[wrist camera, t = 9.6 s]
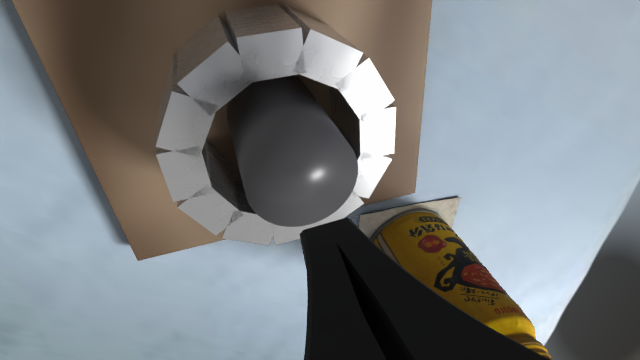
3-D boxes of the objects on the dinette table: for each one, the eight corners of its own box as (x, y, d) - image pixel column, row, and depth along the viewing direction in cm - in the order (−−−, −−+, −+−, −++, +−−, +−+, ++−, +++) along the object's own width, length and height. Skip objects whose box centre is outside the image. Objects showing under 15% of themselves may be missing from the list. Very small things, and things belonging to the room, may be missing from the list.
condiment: (459, 195, 27) (614, 352, 17) (436, 281, 31) (547, 442, 22) (358, 212, 25) (468, 399, 15) (349, 301, 30) (430, 485, 20)
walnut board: (427, -87, 17) (439, -87, 16) (407, 183, 25) (415, 192, 24) (2, -45, 13) (-9, -42, 13) (139, 247, 22) (137, 260, 21)
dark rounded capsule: (253, 51, 17) (283, 106, 12) (328, 93, 19) (379, 155, 14) (210, 129, 18) (222, 207, 13) (284, 160, 20) (318, 238, 15)
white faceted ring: (358, -7, 17) (400, 12, 13) (360, 170, 22) (391, 215, 19) (132, 23, 15) (119, 55, 12) (193, 208, 20) (196, 265, 17)
